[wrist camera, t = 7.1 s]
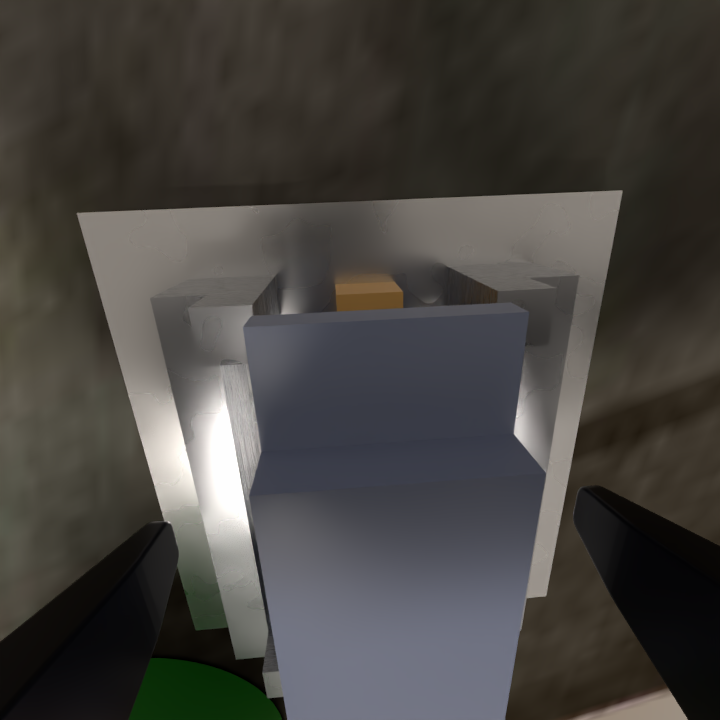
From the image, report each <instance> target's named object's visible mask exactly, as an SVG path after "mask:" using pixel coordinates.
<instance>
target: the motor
mask: <svg viewBox="0 0 720 720" xmlns="http://www.w3.org/2000/svg"><path fill="white" fill-rule="evenodd" d="M129 720H282V718H281V715H280V713H279V711H278V710H277V708H276V707H275V705H274V704H273V703H272V701H271V700H270V699H269V698H267V696H266V695H265V694H264V693H263V692H261V691H260V690H259V689H258V688H256V687H255V686H253V685H252V684H250V683H249V682H247V681H245V680H243V679H242V678H240V677H238V676H236V675H233V674H231V673H229V672H226V671H224V670H221V669H218V668H215V667H212V666H208V665H204V664H200V663H196V662H190V661H184V660H177V659H166V658H151V659H150V662H149V665H148V668H147V670H146V673H145V676H144V679H143V681H142V684H141V687H140V690H139V692H138V695H137V698H136V701H135V703H134V706H133V709H132V712H131V714H130V717H129Z"/></svg>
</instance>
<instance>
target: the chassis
mask: <svg viewBox="0 0 720 720" xmlns="http://www.w3.org/2000/svg"><path fill="white" fill-rule="evenodd" d="M622 192H623V190H619V191H595V192H571V193H546V194H522V195H498V196H474V197H450V198H426V199H401V200H377V201H353V202H329V203H305V204H281V205H256V206H232V207H208V208H184V209H160V210H135V211H111V212H87V213H77V216H78V219H79V223H80V226H81V230H82V233H83V237H84V240H85V244H86V247H87V251H88V254H89V258H90V261H91V265H92V268H93V272H94V275H95V279H96V283H97V286H98V290H99V293H100V297H101V300H102V304H103V307H104V311H105V314H106V318H107V321H108V325H109V328H110V332H111V335H112V339H113V342H114V346H115V349H116V353H117V356H118V360H119V363H120V367H121V370H122V374H123V377H124V381H125V384H126V388H127V391H128V395H129V398H130V402H131V405H132V409H133V413H134V416H135V420H136V423H137V427H138V430H139V434H140V437H141V441H142V444H143V448H144V451H145V455H146V458H147V462H148V465H149V469H150V472H151V476H152V479H153V483H154V486H155V490H156V493H157V497H158V500H159V504H160V507H161V511H162V514H163V518H164V521H169V522H170V523H171V524H172V527H173V530H174V534H175V538H176V541H177V545H178V549H179V559H178V564H177V567H178V571H179V574H180V578H181V581H182V585H183V588H184V592H185V595H186V599H187V602H188V606H189V609H190V613H191V616H192V620H193V623H194V627H195V630H206V629H217V628H227V627H228V628H229V632H230V636H231V640H232V645H233V649H234V653H235V657H236V660H238V659H248V658H257V657H265V658H264V665H263V672H262V674H263V678H264V683H265V688H266V693H267V698H276V697H283V691H282V685H281V679H280V674H279V668H278V662H277V656H276V650H275V645H274V639H273V633H272V627H271V621H270V616H269V610H268V604H267V598H266V592H265V587H264V581H263V575H262V569H261V563H260V558H259V552H258V546H257V540H256V534H255V528H254V523H253V517H252V511H251V505H250V499H249V494H250V491H251V487H252V483H253V480H254V476H255V473H256V469H257V466H258V462H259V459H260V455H261V446H260V439H259V432H258V426H257V419H256V412H255V406H254V399H253V392H252V386H251V379H250V372H249V366H248V359H247V352H246V346H245V339H244V332H243V326H244V325H245V324H246V322H247V321H248V319H249V318H250V317H251V316H261V315H280V314H299V313H319V312H337V305H336V288H335V284H356V283H377V282H395V283H396V284H397V285H398V286H399V287H400V289H401V290H402V291H403V308H415V307H434V306H453V305H473V304H492V303H513V304H515V305H517V306H519V307H521V308H523V309H524V310H526V311H528V312H529V318H528V326H527V334H526V342H525V350H524V357H523V365H522V373H521V381H520V389H519V397H518V405H517V413H516V421H515V429H514V435H515V436H516V437H517V438H518V439H519V441H520V442H521V443H522V444H523V446H524V447H525V448H526V449H527V450H528V452H529V453H530V454H531V455H532V457H533V458H534V459H535V460H536V461H537V463H538V464H539V465H540V466H541V468H542V469H543V470H544V471H545V472H546V477H545V483H544V489H543V495H542V501H541V507H540V513H539V519H538V525H537V531H536V537H535V543H534V549H533V555H532V560H531V566H530V572H529V578H528V584H527V590H526V596H525V602H524V608H523V614H522V620H521V626H520V630H521V628H522V622H523V616H524V610H525V604H526V598H532V597H542V596H546V594H547V588H548V583H549V578H550V572H551V567H552V562H553V557H554V551H555V546H556V541H557V535H558V530H559V525H560V520H561V514H562V509H563V504H564V498H565V493H566V488H567V483H568V477H569V472H570V467H571V461H572V456H573V451H574V446H575V440H576V435H577V430H578V424H579V419H580V414H581V409H582V403H583V398H584V393H585V387H586V382H587V377H588V372H589V366H590V361H591V356H592V350H593V345H594V340H595V335H596V329H597V324H598V319H599V313H600V308H601V303H602V298H603V292H604V287H605V282H606V276H607V271H608V266H609V261H610V255H611V250H612V245H613V239H614V234H615V229H616V224H617V218H618V213H619V208H620V202H621V197H622Z"/></svg>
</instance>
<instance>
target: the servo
mask: <svg viewBox="0 0 720 720" xmlns="http://www.w3.org/2000/svg"><path fill="white" fill-rule="evenodd" d="M335 288H336V305H337V312H319V313H299V314H280V315H261V316H251V317H250V318H249V319H248V321H247V322H246V324H245V325H244V326H243V332H244V339H245V346H246V352H247V359H248V366H249V372H250V379H251V386H252V392H253V399H254V406H255V412H256V419H257V426H258V432H259V439H260V446H261V455H260V459H259V462H258V466H257V469H256V473H255V476H254V480H253V483H252V487H251V491H250V494H249V499H250V505H251V511H252V517H253V523H254V528H255V534H256V540H257V546H258V552H259V558H260V563H261V569H262V575H263V581H264V587H265V592H266V598H267V604H268V610H269V616H270V621H271V627H272V633H273V639H274V645H275V650H276V656H277V662H278V668H279V674H280V679H281V685H282V691H283V697H284V703H285V708H286V714H287V720H505V715H506V709H507V703H508V697H509V691H510V685H511V679H512V673H513V667H514V661H515V655H516V649H517V644H518V638H519V632H520V626H521V620H522V614H523V608H524V602H525V596H526V590H527V584H528V578H529V572H530V566H531V560H532V555H533V549H534V543H535V537H536V531H537V525H538V519H539V513H540V507H541V501H542V495H543V489H544V483H545V477H546V472H545V471H544V470H543V469H542V468H541V466H540V465H539V464H538V463H537V461H536V460H535V459H534V458H533V457H532V455H531V454H530V453H529V452H528V450H527V449H526V448H525V447H524V446H523V444H522V443H521V442H520V441H519V439H518V438H517V437H516V436H515V435H514V429H515V421H516V413H517V405H518V397H519V389H520V381H521V373H522V365H523V357H524V350H525V342H526V334H527V326H528V318H529V312H528V311H526V310H524V309H523V308H521V307H519V306H517V305H515V304H513V303H492V304H473V305H453V306H434V307H415V308H403V291H402V290H401V289H400V287H399V286H398V285H397V284H396V283H395V282H377V283H356V284H335Z"/></svg>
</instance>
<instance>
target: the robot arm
mask: <svg viewBox="0 0 720 720" xmlns="http://www.w3.org/2000/svg"><path fill="white" fill-rule="evenodd" d="M573 521H574V524H575V527H576V529H577V531H578V533H579V535H580V537H581V539H582V541H583V543H584V545H585V547H586V549H587V551H588V553H589V555H590V557H591V559H592V561H593V563H594V565H595V567H596V569H597V571H598V572H599V574H600V576H601V578H602V580H603V582H604V584H605V586H606V588H607V590H608V592H609V593H610V595H611V597H612V598H613V600H614V602H615V603H616V605H617V607H618V608H619V610H620V612H621V613H622V615H623V616H624V618H625V620H626V621H627V623H628V624H629V626H630V628H631V629H632V631H633V632H634V634H635V636H636V637H637V639H638V640H639V642H640V644H641V645H642V647H643V648H644V650H645V652H646V653H647V655H648V656H649V658H650V660H651V661H652V663H653V664H654V666H655V667H656V669H657V671H658V672H659V674H660V675H661V677H662V679H663V680H664V682H665V683H666V685H667V687H668V688H669V690H670V691H671V693H672V695H673V696H674V698H675V699H676V701H677V703H678V704H679V706H680V707H681V709H682V711H683V712H684V714H685V715H686V717H687V719H688V720H720V546H719V545H717V544H715V543H713V542H711V541H709V540H707V539H705V538H703V537H701V536H699V535H697V534H695V533H693V532H691V531H689V530H687V529H685V528H683V527H681V526H679V525H677V524H675V523H673V522H671V521H669V520H667V519H665V518H663V517H661V516H659V515H657V514H655V513H653V512H651V511H649V510H647V509H645V508H643V507H641V506H639V505H637V504H635V503H633V502H631V501H629V500H627V499H625V498H623V497H621V496H619V495H617V494H615V493H613V492H611V491H609V490H607V489H606V488H604V487H601V486H597V485H595V486H583V487H581V488H580V489H579V490H578V493H577V498H576V502H575V507H574V512H573ZM178 559H179V549H178V545H177V541H176V538H175V534H174V530H173V527H172V524H171V523H170V522H169V521H156V522H150V523H148V524H146V525H145V526H144V527H142V528H141V529H140V530H139V531H137V532H136V533H135V534H134V535H132V536H131V537H130V538H129V539H127V540H126V541H125V542H124V543H122V544H121V545H120V546H119V547H117V548H116V549H115V550H114V551H112V552H111V553H110V554H109V555H107V556H106V557H105V558H104V559H103V560H101V561H100V562H99V563H98V564H96V565H95V566H94V567H93V568H91V569H90V570H89V571H88V572H86V573H85V574H84V575H83V576H81V577H80V578H79V579H78V580H76V581H75V582H74V583H73V584H71V585H70V586H69V587H68V588H66V589H65V590H64V591H63V592H62V593H60V594H59V595H58V596H57V597H55V598H54V599H53V600H52V601H50V602H49V603H48V604H47V605H45V606H44V607H43V608H42V609H40V610H39V611H38V612H37V613H35V614H34V615H33V616H32V617H30V618H29V619H28V620H27V621H25V622H24V623H23V624H22V625H21V626H19V627H18V628H17V629H16V630H14V631H13V632H12V633H11V634H9V635H8V636H7V637H6V638H4V639H3V640H2V641H1V642H0V720H129V717H130V714H131V712H132V709H133V706H134V703H135V701H136V698H137V695H138V692H139V690H140V687H141V684H142V681H143V679H144V676H145V673H146V670H147V668H148V665H149V662H150V659H151V657H152V654H153V651H154V648H155V645H156V642H157V639H158V636H159V633H160V629H161V626H162V622H163V618H164V614H165V610H166V606H167V603H168V599H169V595H170V591H171V587H172V583H173V579H174V575H175V572H176V568H177V564H178Z"/></svg>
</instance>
